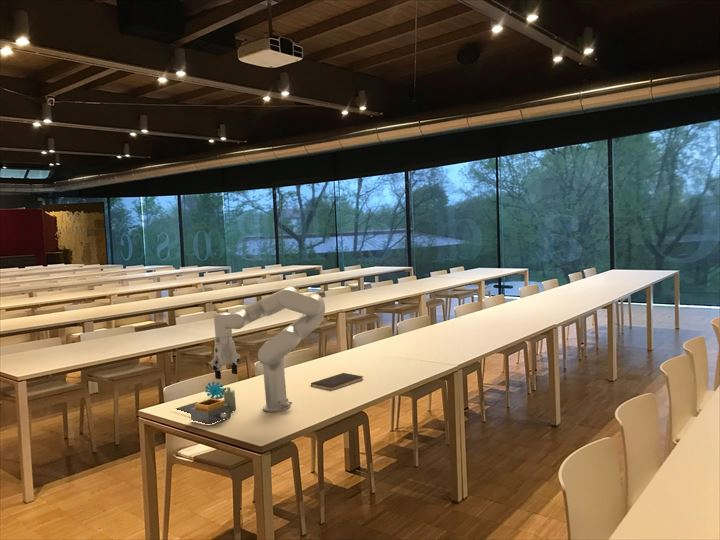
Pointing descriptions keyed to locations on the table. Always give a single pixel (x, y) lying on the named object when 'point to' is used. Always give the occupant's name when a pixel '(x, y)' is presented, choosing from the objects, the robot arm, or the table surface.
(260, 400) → the table surface
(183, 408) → the dark grey flat slab
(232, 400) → the spout can
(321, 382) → the hardcover book
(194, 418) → the box
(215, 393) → the gear
